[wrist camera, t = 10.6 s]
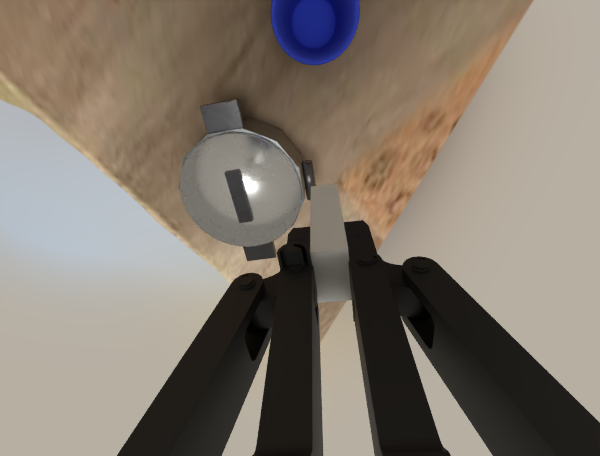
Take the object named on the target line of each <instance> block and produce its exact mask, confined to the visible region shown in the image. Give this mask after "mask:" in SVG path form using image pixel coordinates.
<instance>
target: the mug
mask: <svg viewBox="0 0 600 456" xmlns="http://www.w3.org/2000/svg"><path fill="white" fill-rule="evenodd" d="M359 12H360V8H359V0H272V4H271V22H272V27H273V31H274V34H275V36H276V39H277V41H278V43H279V44H280V46H281V47H282V49H283V50H284V51H285V52H286V53H287V54H288V55H289V56H290V57H291V58H293V59H294V60H296V61H298V62H301V63H303V64H308V65H321V64H325V63H328V62H330V61H332V60H334V59H335V58H337V57H338V56H340V55H341V54H342V53H343V52H344V51H345V50H346V48H347V47H348V46H349V44H350V43H351V41H352V39H353V37H354V35H355V33H356V30H357V26H358V21H359Z"/></svg>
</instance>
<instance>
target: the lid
mask: <svg viewBox="0 0 600 456" xmlns="http://www.w3.org/2000/svg"><path fill="white" fill-rule="evenodd" d="M180 193H181V198H182V201H183V204H184V206H185V208H186V210H187V212H188V214H189V215H190V217H191V218H192V220H193V221H194V222H195V223H196V224H197V225H198V226H199V227H200V228H201V229H202V230H203V231H204V232H206V233H207V234H209V235H210V236H212V237H213V238H215V239H217V240H219V241H222V242H224V243H227V244H231V245H236V246H246V247H249V246H258V245H263V244H266V243H269V242H271V241H273V240H275V239H277V238H279V237H280V236H282V235H283V234H284V233H285V232H286V231H287V230H288V229H289V228H290V227H291V225H292V224H293V222H294V221H295V219H296V217H297V214H298V211H299V208H300V202H301V187H300V182H299V178H298V175H297V173H296V170H295V168H294V167H293V165H292V163H291V162H290V160H289V159H288V158H287V156H286V155H285V154H284V153H283V152H282V151H281V150H280V149H278V148H277V147H276V146H275V145H273V144H271V143H270V142H268V141H267V140H264V139H262V138H260V137H257V136H254V135H251V134H246V133H234V132H233V133H224V134H220V135H216V136H214V137H211V138H209V139H207V140H205V141H204V142H202V143H201V144H200V145H198V146H197V147H196V148H195V149H194V150H193V151H192V152H191V153H190V154H189V156H188V157H187V159H186V161H185V163H184V165H183V167H182V171H181V175H180Z"/></svg>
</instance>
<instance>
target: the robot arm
mask: <svg viewBox="0 0 600 456" xmlns="http://www.w3.org/2000/svg"><path fill="white" fill-rule="evenodd" d="M277 256H278V260H279V265H280V272H279V273H277V274H275V275H273V276H271V277H268V278H265V279H262V276H260V275H259V274H256V273H247V274H243V275H241V276H239V277H237V278H236V279H235V280H234V281H233V282H232V283H231V285H230V286H229V288H228V289H227V291H226V292H225V294H224V295H223V297H222V299H221V300H220V301H219V303H218V305H217V306H216V308H215V309H214V311H213V312H212V314H211V315H210V316H209V318H208V320H207V321H206V322H205V324H204V325H203V327H202V329H201V330H200V332H199V333H198V335H197V336H196V338H195V339H194V341H193V342H192V344H191V345H190V347H189V348H188V350H187V351H186V353H185V354H184V356H183V357H182V359H181V360H180V362H179V363H178V365H177V366H176V368H175V369H174V371H173V372H172V374H171V375H170V377H169V378H168V380H167V381H166V383H165V384H164V386H163V387H162V389H161V390H160V392H159V393H158V395H157V396H156V398H155V399H154V401H153V402H152V404H151V405H150V407H149V408H148V410H147V411H146V413H145V414H144V416H143V417H142V419H141V420H140V422H139V423H138V425H137V426H136V428H135V429H134V431H133V432H132V434H131V435H130V437H129V438H128V440H127V441H126V443H125V444H124V446H123V447H122V449H121V450H120V452H119V453H118V455H117V456H222V453H223V451H224V448H225V446H226V443H227V441H228V439H229V437H230V434H231V432H232V430H233V427H234V425H235V422H236V420H237V418H238V415H239V413H240V411H241V408H242V406H243V403H244V401H245V398H246V396H247V394H248V392H249V389H250V387H251V384H252V382H253V380H254V377H255V375H256V372H257V370H258V368H259V365H260V363H261V361H262V358H263V356H264V353H265V351H266V348H267V346H268V344H269V341H270V339H271V342H270V350H269V357H268V364H267V372H266V379H265V387H264V394H263V402H262V409H261V417H260V423H259V431H258V438H257V445H256V450H255V453H254V455H252V456H323V435H322V434H323V433H322V403H321V402H322V399H321V368H320V333H319V309H318V303H321V302H333V301H346V300H352V305H353V318H354V322H355V327H356V334H357V340H358V347H359V354H360V360H361V367H362V374H363V380H364V387H365V393H366V400H367V407H368V414H369V420H370V427H371V434H372V440H373V447H374V454H375V456H450V453H449V452H448V451H447V450H446V449H445V448H444V447H443V446H442V444H441V441H440V438H439V436H438V432H437V430H436V426H435V423H434V420H433V417H432V414H431V410H430V407H429V404H428V402H427V398H426V395H425V392H424V389H423V386H422V383H421V379H420V376H419V373H418V370H417V367H416V364H415V361H414V358H413V354H412V351H411V348H410V345H409V342H408V339H407V336H406V332H405V329H404V326H403V323H402V320H401V317H402V319H403V321H404V323H405V324H406V326H407V327H408V329H409V330H410V332H411V333H412V335H413V336H414V338H415V339H416V341H417V342H418V344H419V345H420V347H421V348H422V350H423V351H424V353H425V354H426V356H427V357H428V359H429V360H430V362H431V363H432V365H433V366H434V368H435V369H436V371H437V372H438V374H439V375H440V377H441V378H442V380H443V381H444V383H445V384H446V386H447V387H448V389H449V390H450V392H451V393H452V395H453V396H454V398H455V399H456V401H457V402H458V404H459V405H460V407H461V408H462V410H463V411H464V413H465V414H466V416H467V417H468V419H469V420H470V422H471V423H472V425H473V426H474V428H475V429H476V431H477V432H478V434H479V435H480V437H481V438H482V440H483V441H484V443H485V444H486V446H487V447H488V449H489V450H490V452H491V453H492V455H493V456H600V423H599V422H598V421H597V420H596V419H595V418H594V417H593V416H592V415H591V414H590V413H589V412H588V411H587V410H586V409H585V408H584V407H583V406H582V405H581V404H580V403H579V402H578V401H577V400H576V399H575V398H574V397H573V396H572V395H571V394H570V393H569V392H568V391H567V390H566V389H565V388H564V387H563V386H562V385H561V384H560V383H559V382H558V381H557V380H556V379H555V378H554V377H553V376H552V375H551V374H549V373H548V371H547V370H545V369H544V368H543V367H542V366H541V365H540V364H539V363H538V362H537V361H536V360H535V359H534V358H533V357H532V356H531V355H530V354H529V353H528V352H527V351H526V350H525V349H524V348H523V347H522V346H521V345H520V344H519V343H518V342H517V341H516V340H515V339H514V338H513V337H512V336H511V335H510V334H509V333H508V332H507V331H506V330H505V329H504V328H503V327H502V326H501V325H500V324H499V323H498V322H496V320H495V319H493V317H491V315H489V314H488V313H487V312H486V311H485V310H484V309H483V308H482V307H481V306H480V305H479V304H478V303H477V302H476V301H475V300H474V299H473V298H472V297H471V296H470V295H469V294H468V293H467V292H466V291H465V290H464V289H463V288H462V287H461V286H460V285H459V284H458V283H457V282H456V281H455V280H454V279H453V278H452V277H451V276H450V275H449V274H448V273H447V272H446V271H445V270H444V269H443V268H442V267H441V266H440V265H439V264H438V263H436V262H435V261H433V260H432V259H429V258H426V257H411V258H409V259H407V260H406V261H405V262H404V263H403V265H395V264H390V263H387V262H385V261H383V260H382V258H381V257H380V256H379V255H378V254H377V251H376V248H375V245H374V242H373V239H372V235H371V232H370V229H369V226H368V225H367V224H366V223H365V222H364V221H363V220H362V221H352V222H343V216H342V211H341V205H340V199H339V194H338V188H337V183H336V184H328V185H319V186H311V215H310V227H303V228H293V229H292V230H291V232H290V233H289V234H288V242H287V244H286V245H283V246H282V247H281V248H279V249H278V251H277ZM317 300H318V301H317ZM400 316H401V317H400Z"/></svg>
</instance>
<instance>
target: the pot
mask: <svg viewBox="0 0 600 456" xmlns="http://www.w3.org/2000/svg"><path fill="white" fill-rule="evenodd" d="M200 109H201V112H202V116H203V119H204V122H205V125H206V129H207V132H208V134H207V135H206V136H205V137H204V138H203V139H202V140H201V141H200V142H199V143H198V144H197V145H196V146H195V147H194V148H193V149H192V150H191V151H189V152H188V153H187V154H186V155H185V156H184V160H183V165H184V163H185V161H186V159H187V157H188V156H189V154H190V153H191V152H192V151H193V150H194V149H195V148H196V147H197V146H198V145H200V144H201V143H202V142H204V141H205V140H207V139H209V138H211V137H214V136H216V135H220V134H224V133H233V132H234V133H246V134H251V135H254V136H257V137H260V138H262V139H264V140H267V141H268V142H270V143H271V144H273V145H275V146H276V147H277V148H278V149H280V150H281V151H282V152H283V153H284V154H285V155H286V156H287V158H288V159H289V160H290V162H291V163H292V165H293V167H294V168H295V170H296V173H297V175H298V178H299V182H300V187H301V202H300V208H299V211H300V209H301V206H302V204H303V201H304V199H305V189H306V195H307V199H308V200H311V186H316V184H315V178H314V171H313V165H312V161H311V160H306V161H303V162H302V159H301V153H300V151H299V150H298V149H297V148H296V147H295V145H294V144H293V143H292V142H291V141H290V139H289V138H288V137H287V136H286V135H285V133H284V132H283V131H282V130H281V129H280V128H277V127H275V126H272V125H269V124H267V123H264V122H262V121H259V120H256V119H254V118H246V119H243V117H242V113H241V109H240V105H239V101H238V99H234V100H229V101H223V102H218V103H212V104H207V105H202V106H200ZM182 167H183V166H182ZM179 189H180V182H179ZM299 211H298V213H299ZM297 216H298V214H297ZM296 218H297V217H296ZM295 221H296V219H295ZM295 221H294V222H293V224H292V225H291V227H292V226H293V225H294V223H295ZM291 227H290V228H291ZM243 248H244V252H245V255H246V258H247V261H251V260H259V259H267V258H275V257H276V250H275V245H274V241H271V242H269V243H266V244H263V245H258V246H249V247H246V246H243Z"/></svg>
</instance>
